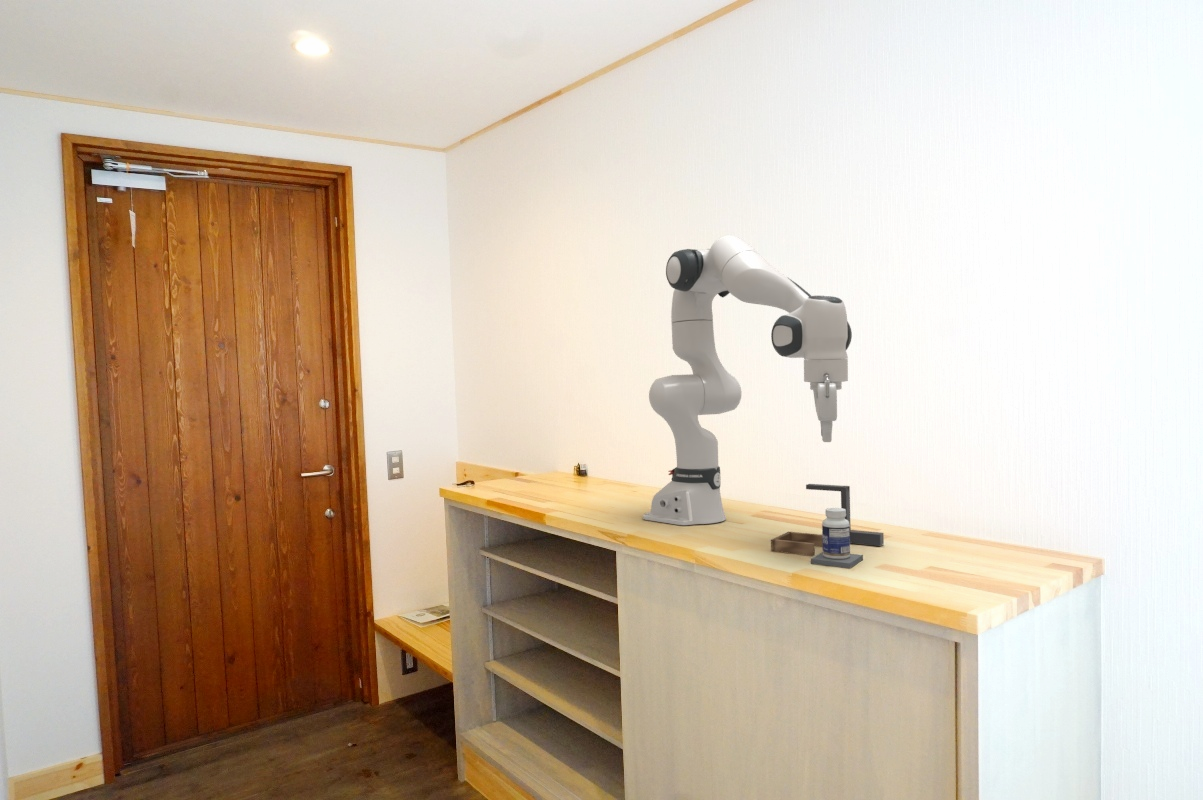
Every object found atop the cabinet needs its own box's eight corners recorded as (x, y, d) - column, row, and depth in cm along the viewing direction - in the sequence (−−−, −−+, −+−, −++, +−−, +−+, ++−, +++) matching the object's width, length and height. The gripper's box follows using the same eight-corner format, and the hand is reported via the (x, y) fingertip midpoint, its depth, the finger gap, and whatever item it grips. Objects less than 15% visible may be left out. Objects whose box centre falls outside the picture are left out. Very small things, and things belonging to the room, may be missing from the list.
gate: (806, 538, 181) (805, 485, 181) (810, 536, 183) (809, 483, 183) (880, 546, 171) (879, 489, 171) (883, 543, 173) (882, 487, 173)
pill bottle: (822, 553, 163) (821, 506, 163) (849, 553, 162) (848, 507, 161) (823, 559, 158) (822, 511, 157) (851, 560, 156) (850, 511, 156)
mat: (810, 563, 159) (810, 558, 159) (824, 555, 165) (824, 550, 165) (850, 568, 154) (850, 563, 154) (863, 559, 160) (862, 555, 160)
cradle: (771, 551, 171) (770, 539, 171) (788, 542, 179) (788, 531, 179) (813, 556, 165) (812, 544, 165) (829, 546, 173) (829, 535, 173)
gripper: (844, 374, 152) (844, 445, 153) (839, 371, 172) (839, 434, 173) (810, 375, 154) (811, 445, 154) (809, 372, 173) (810, 434, 174)
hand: (826, 439), depth 164 cm, fingers open, 8 cm apart
